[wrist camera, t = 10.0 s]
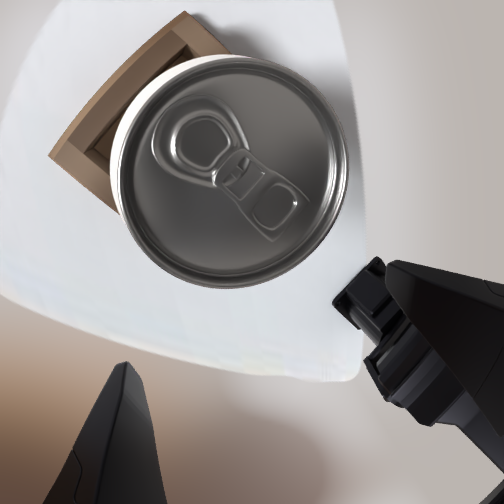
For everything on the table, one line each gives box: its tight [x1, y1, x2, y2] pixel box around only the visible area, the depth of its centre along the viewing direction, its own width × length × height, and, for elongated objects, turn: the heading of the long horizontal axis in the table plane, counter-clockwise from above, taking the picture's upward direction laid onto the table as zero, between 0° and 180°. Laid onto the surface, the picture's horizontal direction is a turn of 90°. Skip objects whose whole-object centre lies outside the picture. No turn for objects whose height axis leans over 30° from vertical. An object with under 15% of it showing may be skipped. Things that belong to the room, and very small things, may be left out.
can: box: [110, 54, 349, 289], centre depth 12 cm, size 6×6×12 cm
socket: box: [48, 11, 232, 215], centre depth 16 cm, size 12×12×4 cm
